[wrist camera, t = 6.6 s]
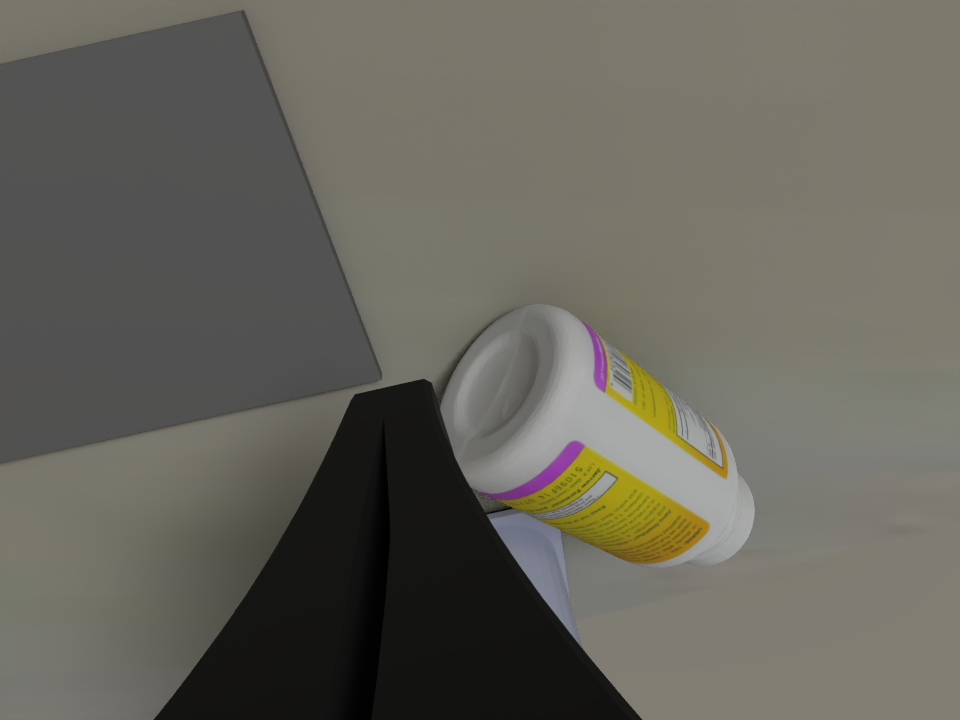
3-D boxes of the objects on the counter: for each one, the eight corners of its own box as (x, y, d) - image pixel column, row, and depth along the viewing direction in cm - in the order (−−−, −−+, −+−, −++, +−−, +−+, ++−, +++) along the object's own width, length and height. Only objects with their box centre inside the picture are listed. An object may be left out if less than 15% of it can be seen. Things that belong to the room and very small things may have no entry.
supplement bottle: (403, 461, 19) (619, 564, 26) (515, 501, 14) (756, 620, 20) (477, 302, 21) (662, 435, 27) (602, 282, 16) (799, 454, 22)
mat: (381, 372, 21) (380, 417, 19) (-101, 478, 21) (-152, 534, 19) (243, 9, 13) (218, 21, 11) (-511, 177, 13) (-667, 217, 11)
